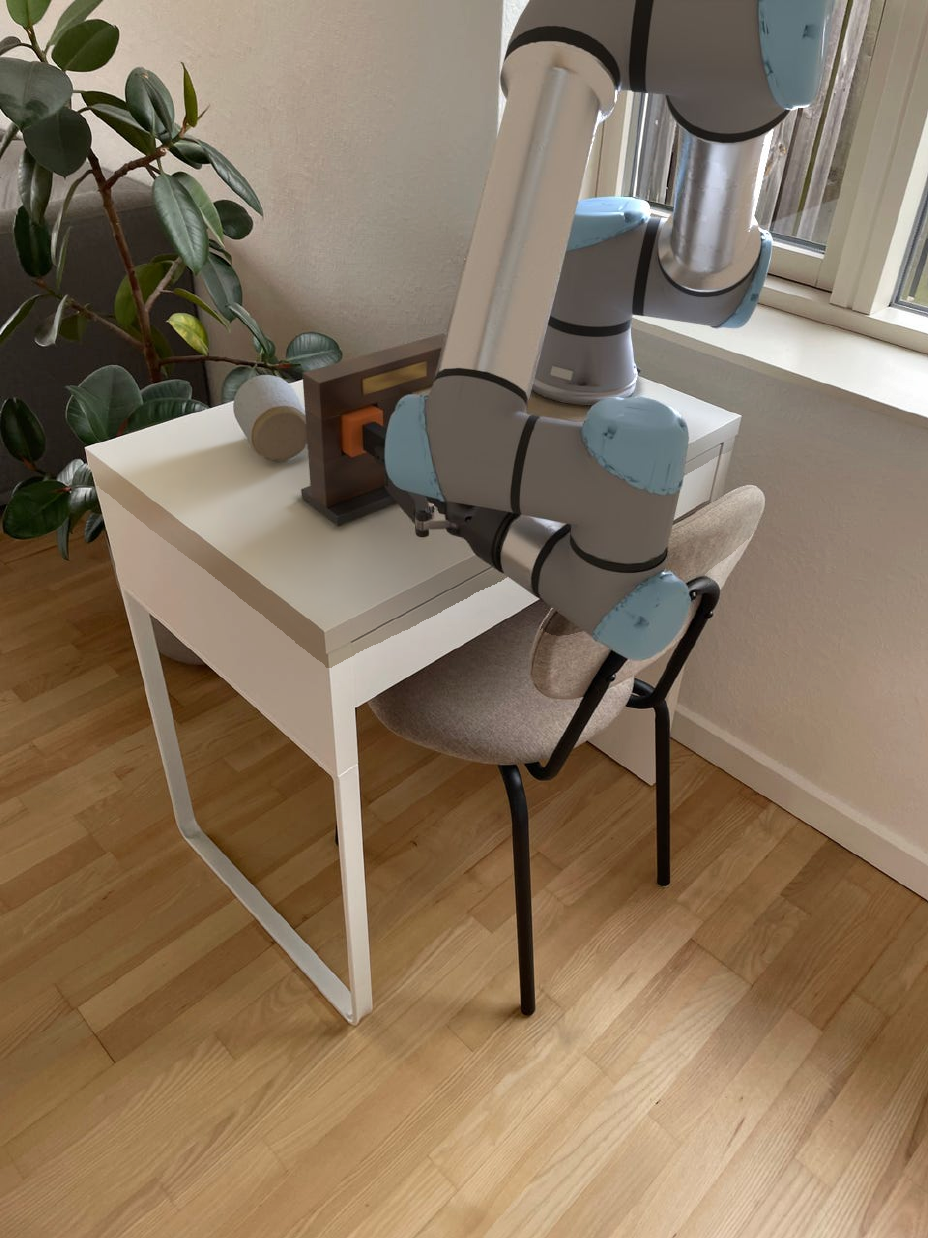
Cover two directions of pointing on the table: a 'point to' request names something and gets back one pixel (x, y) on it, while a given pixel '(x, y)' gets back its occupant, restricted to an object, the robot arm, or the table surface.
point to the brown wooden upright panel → (345, 386)
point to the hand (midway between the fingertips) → (369, 435)
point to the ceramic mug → (271, 417)
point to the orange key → (357, 428)
